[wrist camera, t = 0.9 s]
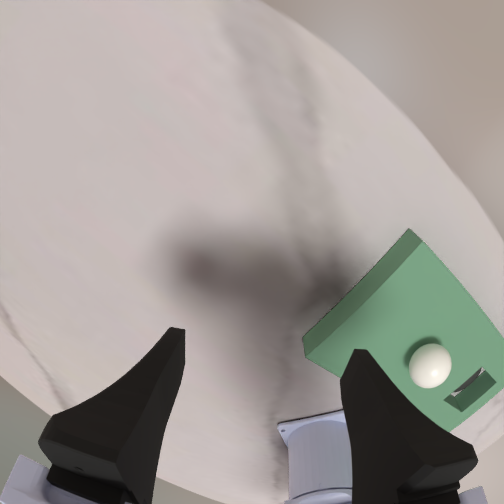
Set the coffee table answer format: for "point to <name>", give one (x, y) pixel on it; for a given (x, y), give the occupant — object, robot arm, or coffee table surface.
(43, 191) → the coffee table surface
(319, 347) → the putting mat
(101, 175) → the coffee table surface
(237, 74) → the coffee table surface
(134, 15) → the coffee table surface
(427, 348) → the ball
